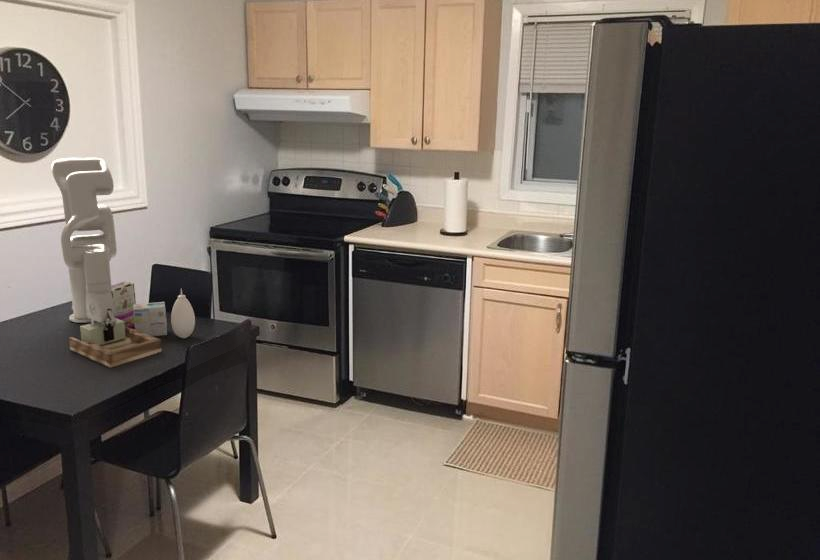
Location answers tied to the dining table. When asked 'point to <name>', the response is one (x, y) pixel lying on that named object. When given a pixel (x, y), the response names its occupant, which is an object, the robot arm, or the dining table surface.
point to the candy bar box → (124, 302)
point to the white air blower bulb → (182, 317)
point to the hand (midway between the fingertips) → (103, 337)
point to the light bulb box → (150, 318)
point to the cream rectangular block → (101, 332)
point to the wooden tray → (118, 348)
